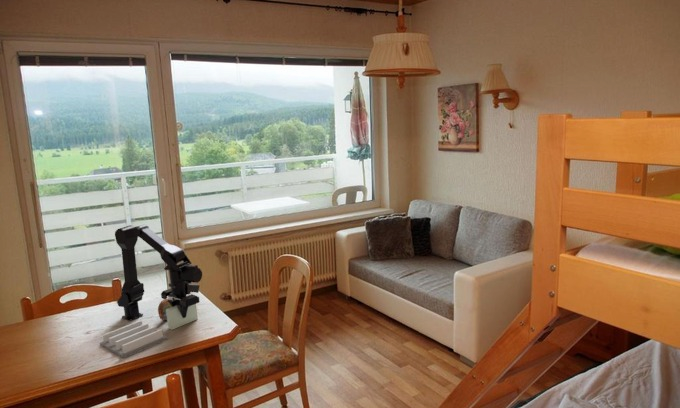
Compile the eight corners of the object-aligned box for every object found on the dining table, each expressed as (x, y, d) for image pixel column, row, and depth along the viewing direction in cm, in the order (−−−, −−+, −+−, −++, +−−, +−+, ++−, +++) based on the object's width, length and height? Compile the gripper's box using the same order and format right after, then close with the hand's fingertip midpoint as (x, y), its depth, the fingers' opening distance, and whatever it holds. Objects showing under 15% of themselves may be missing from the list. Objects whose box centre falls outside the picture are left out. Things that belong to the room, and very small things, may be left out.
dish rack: (100, 345, 178) (98, 335, 178) (142, 328, 191) (141, 318, 191) (123, 358, 167) (121, 347, 166) (167, 339, 180) (165, 329, 179)
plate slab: (168, 328, 189) (165, 309, 188) (194, 317, 198) (192, 299, 197) (171, 329, 188) (169, 310, 186) (197, 318, 197) (195, 300, 195)
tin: (165, 323, 195) (162, 304, 193) (158, 323, 195) (155, 304, 194) (183, 308, 209) (181, 290, 207) (177, 308, 210) (175, 290, 208)
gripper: (208, 278, 190) (212, 314, 193) (182, 270, 202) (186, 305, 204) (184, 287, 181) (189, 325, 184) (158, 278, 193) (163, 314, 196)
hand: (182, 316), depth 193 cm, fingers closed on plate slab, 2 cm apart
